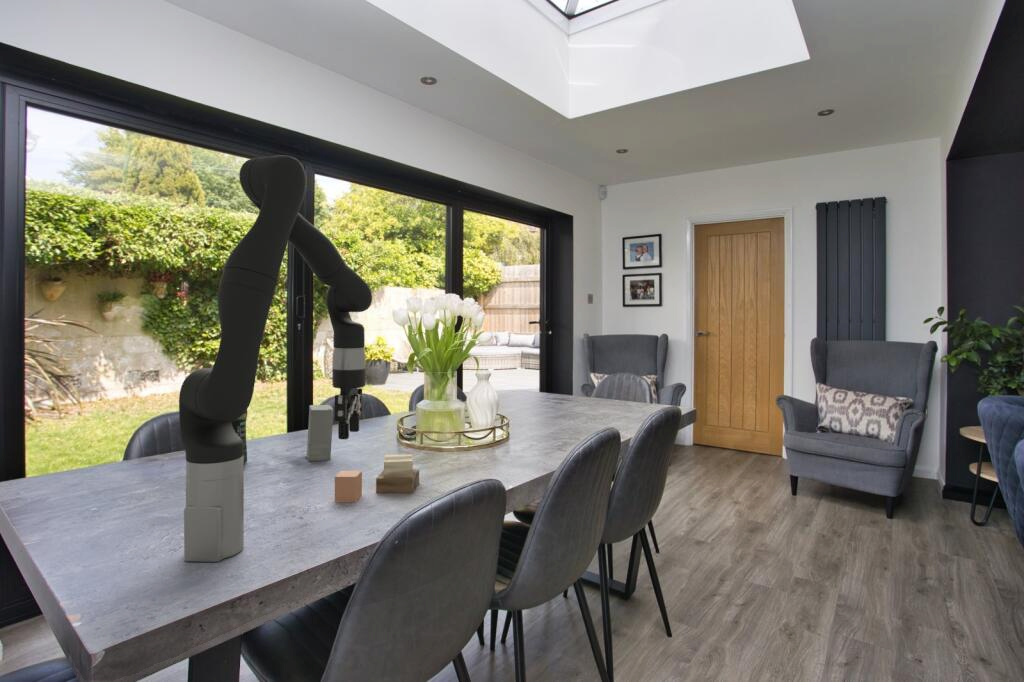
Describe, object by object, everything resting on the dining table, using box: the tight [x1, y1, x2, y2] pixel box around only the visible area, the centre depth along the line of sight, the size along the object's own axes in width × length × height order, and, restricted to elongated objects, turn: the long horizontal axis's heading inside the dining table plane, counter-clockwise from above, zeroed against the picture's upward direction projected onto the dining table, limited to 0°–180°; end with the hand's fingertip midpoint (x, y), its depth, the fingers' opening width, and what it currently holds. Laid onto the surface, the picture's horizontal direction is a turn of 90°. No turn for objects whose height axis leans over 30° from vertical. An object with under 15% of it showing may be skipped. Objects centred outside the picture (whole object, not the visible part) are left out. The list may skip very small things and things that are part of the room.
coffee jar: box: [232, 409, 248, 465], centre depth 158 cm, size 10×8×19 cm
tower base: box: [375, 468, 420, 495], centre depth 140 cm, size 9×9×4 cm
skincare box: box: [306, 404, 334, 462], centre depth 169 cm, size 8×7×16 cm
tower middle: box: [383, 453, 414, 478], centre depth 140 cm, size 7×7×4 cm
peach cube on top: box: [334, 470, 363, 503], centre depth 131 cm, size 5×5×6 cm
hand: (349, 435), depth 131 cm, fingers open, 8 cm apart
